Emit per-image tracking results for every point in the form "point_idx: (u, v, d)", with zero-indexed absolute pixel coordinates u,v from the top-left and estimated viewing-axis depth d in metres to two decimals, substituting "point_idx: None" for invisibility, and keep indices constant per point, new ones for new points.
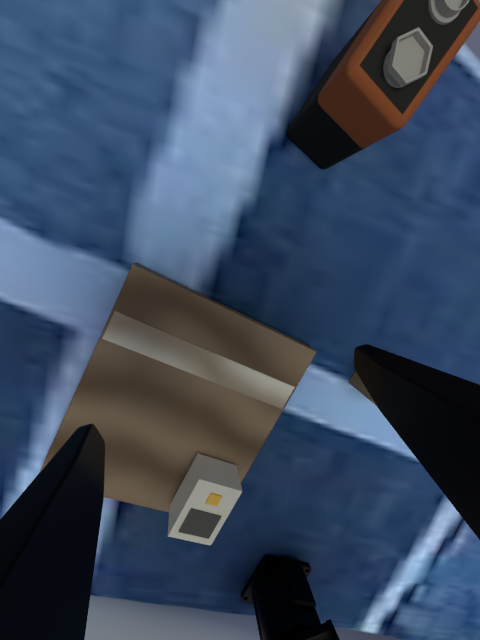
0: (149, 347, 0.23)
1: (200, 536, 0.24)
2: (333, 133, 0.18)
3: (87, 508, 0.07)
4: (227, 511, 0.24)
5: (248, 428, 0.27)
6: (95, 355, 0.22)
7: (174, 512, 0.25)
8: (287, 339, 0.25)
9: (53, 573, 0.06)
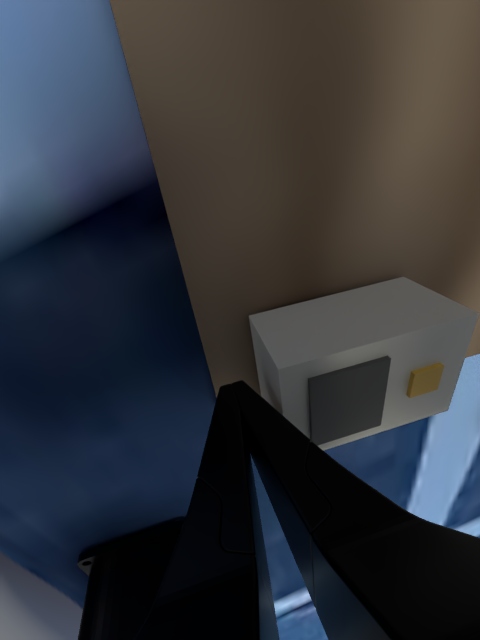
0: None
1: (313, 430, 0.09)
2: None
3: (249, 456, 0.08)
4: (392, 422, 0.10)
5: None
6: None
7: (303, 334, 0.09)
8: None
9: (254, 504, 0.07)
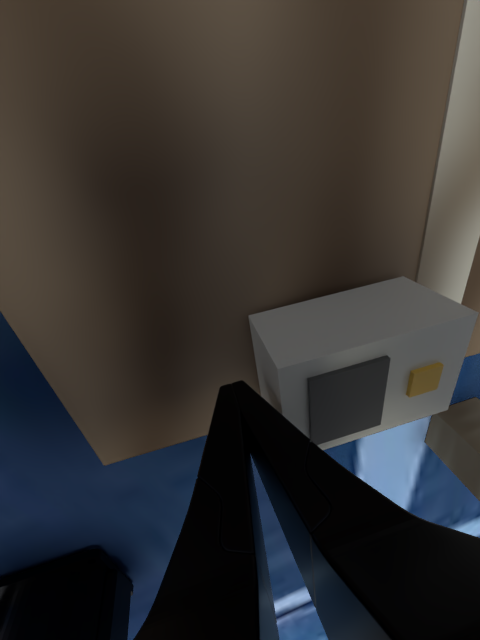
0: None
1: (313, 430, 0.09)
2: None
3: (249, 456, 0.08)
4: (392, 422, 0.10)
5: None
6: None
7: (302, 333, 0.09)
8: None
9: (254, 504, 0.07)
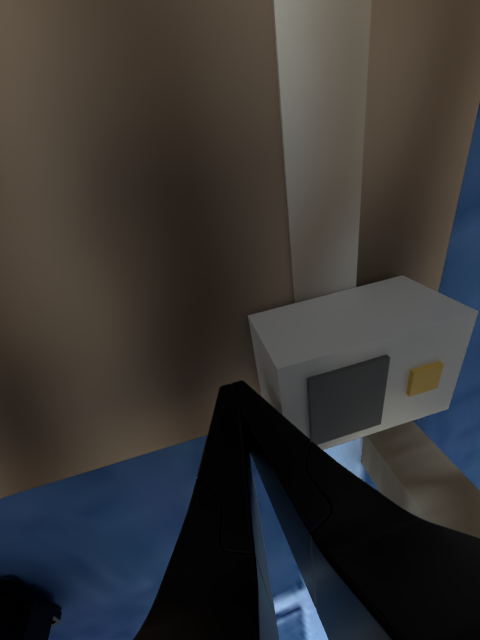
0: None
1: (313, 430, 0.09)
2: None
3: (249, 456, 0.08)
4: (392, 421, 0.10)
5: None
6: None
7: (302, 333, 0.09)
8: None
9: (254, 504, 0.07)
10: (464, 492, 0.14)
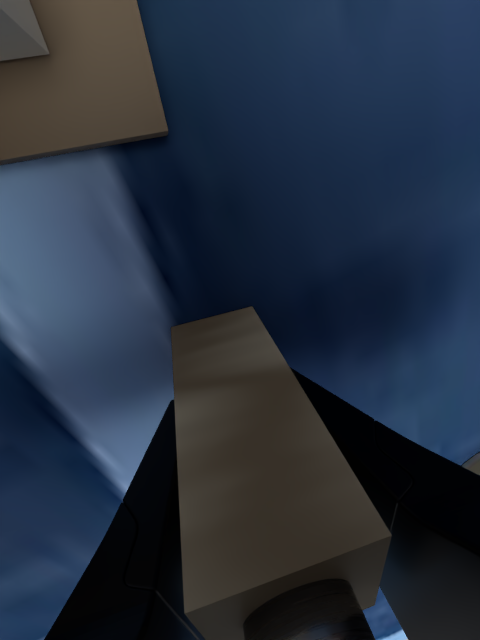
0: None
1: None
2: None
3: None
4: None
5: None
6: None
7: None
8: None
9: None
10: (274, 393, 0.07)
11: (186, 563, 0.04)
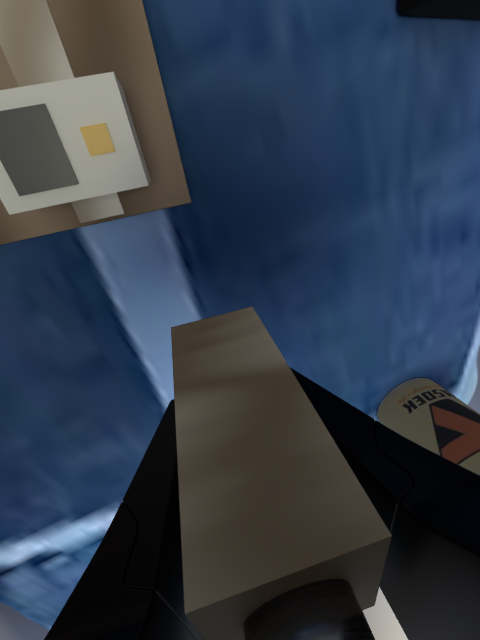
0: None
1: (10, 175, 0.12)
2: None
3: None
4: (95, 188, 0.13)
5: None
6: None
7: None
8: (173, 140, 0.15)
9: None
10: (274, 394, 0.07)
11: (186, 563, 0.04)
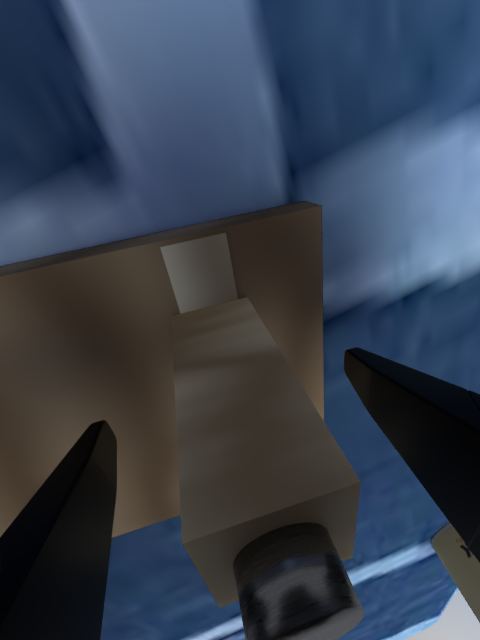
0: None
1: None
2: None
3: (102, 503, 0.08)
4: None
5: None
6: (118, 258, 0.10)
7: None
8: None
9: (71, 567, 0.06)
10: (264, 371, 0.08)
11: (184, 507, 0.05)
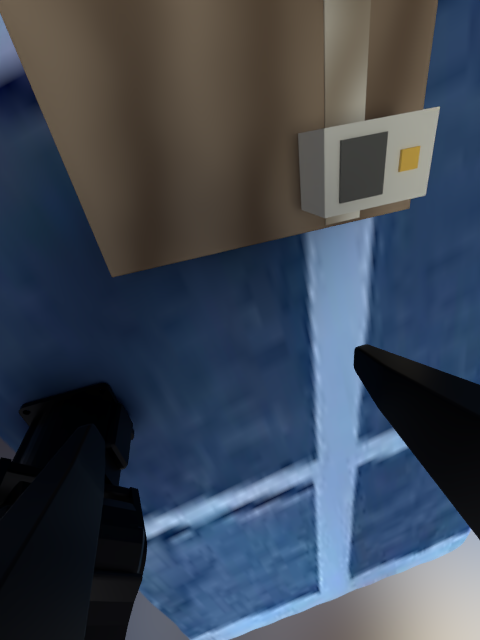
0: None
1: (342, 187, 0.14)
2: None
3: (87, 508, 0.07)
4: (389, 197, 0.15)
5: (279, 202, 0.17)
6: None
7: None
8: None
9: (53, 573, 0.06)
10: None
11: None
